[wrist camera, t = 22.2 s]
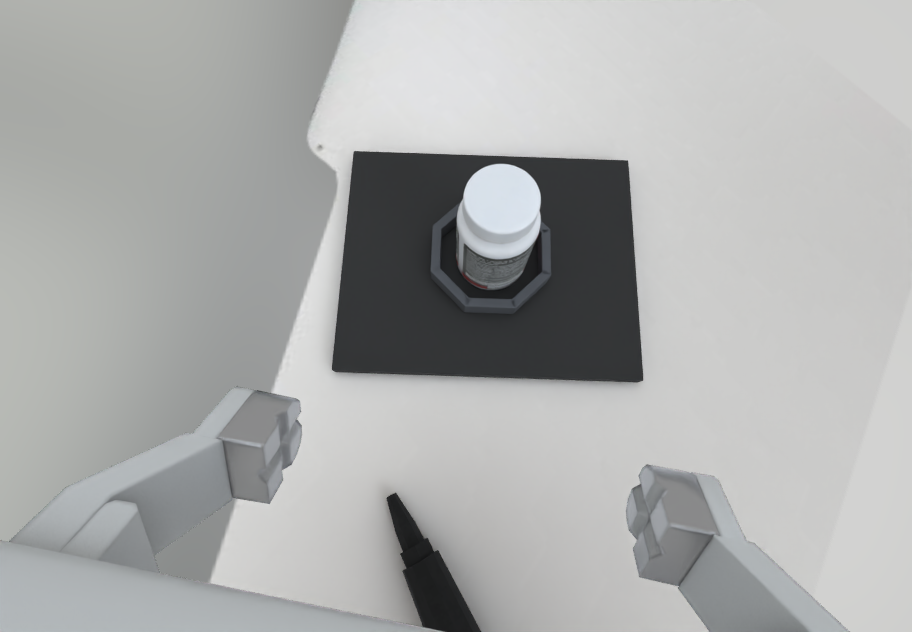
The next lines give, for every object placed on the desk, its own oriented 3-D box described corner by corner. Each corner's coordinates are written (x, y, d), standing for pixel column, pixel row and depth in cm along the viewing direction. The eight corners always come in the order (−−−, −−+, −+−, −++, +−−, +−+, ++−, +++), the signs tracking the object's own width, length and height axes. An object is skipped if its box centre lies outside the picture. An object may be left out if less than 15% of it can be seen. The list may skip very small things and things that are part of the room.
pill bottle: (538, 272, 32) (567, 215, 23) (476, 303, 31) (485, 256, 23) (504, 216, 33) (521, 142, 24) (444, 244, 32) (441, 179, 24)
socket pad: (623, 168, 35) (636, 147, 32) (637, 382, 31) (653, 377, 28) (356, 158, 35) (349, 138, 32) (335, 371, 31) (325, 366, 28)
